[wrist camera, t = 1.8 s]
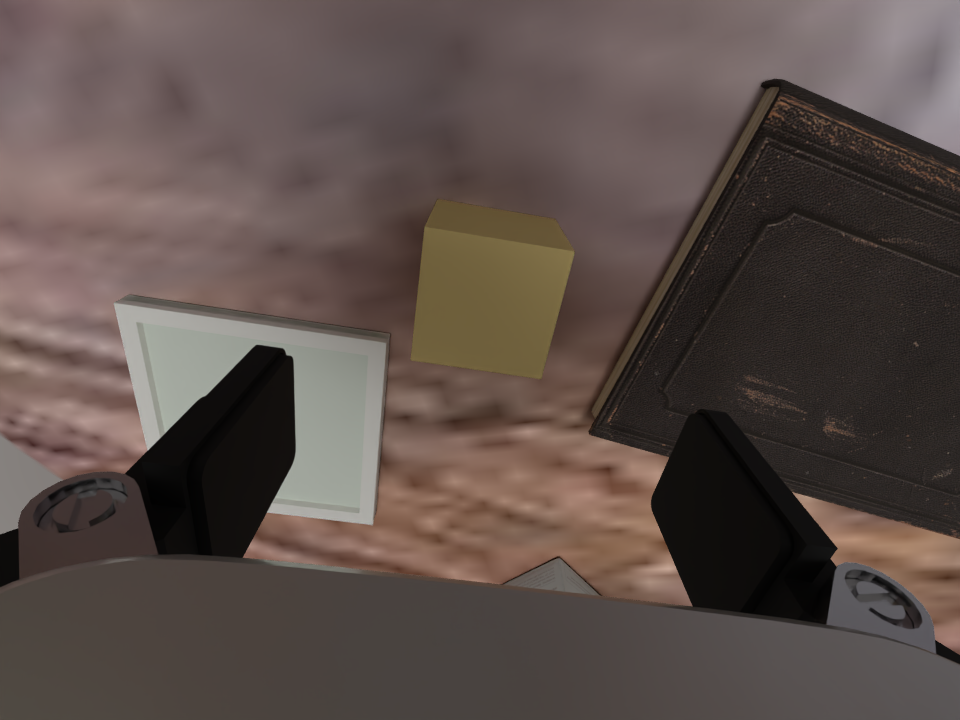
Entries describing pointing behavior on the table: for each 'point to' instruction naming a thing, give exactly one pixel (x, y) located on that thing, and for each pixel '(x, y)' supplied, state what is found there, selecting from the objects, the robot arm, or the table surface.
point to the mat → (317, 387)
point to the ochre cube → (489, 289)
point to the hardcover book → (814, 314)
